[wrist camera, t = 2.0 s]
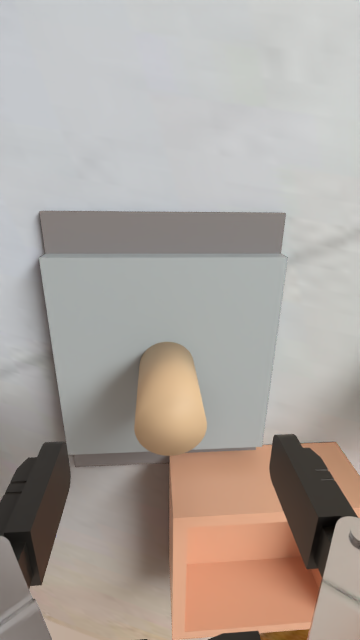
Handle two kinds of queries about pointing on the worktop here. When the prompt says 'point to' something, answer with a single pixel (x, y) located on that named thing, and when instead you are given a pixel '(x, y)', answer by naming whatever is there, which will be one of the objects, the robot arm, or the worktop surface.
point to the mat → (158, 238)
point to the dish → (240, 544)
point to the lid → (163, 348)
